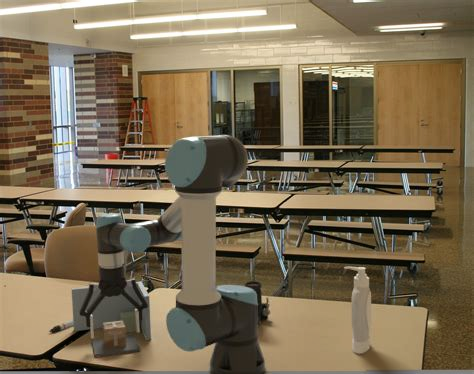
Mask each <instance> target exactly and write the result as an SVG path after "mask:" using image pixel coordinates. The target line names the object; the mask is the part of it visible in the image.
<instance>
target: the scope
mask: <svg viewBox="0 0 474 374" xmlns="http://www.w3.org/2000/svg"><path fill="white" fill-rule="evenodd" d="M244 286H245V287H249V288H251V289H253V290H254V291H255V292H256V294H257V303H258V327H259V326H260V325H261V321H267V320H268V319H269V316H270V314H271V310H270V302H269V301H270V300H269V296H268V297H266V298H265V299H266V302H265V303H264V302H263V301H262V298H263V297H262V289H261V288H262V282H260V281H256V280H255V281H247V282H245V283H244Z"/></svg>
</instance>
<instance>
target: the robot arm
mask: <svg viewBox="0 0 474 374" xmlns="http://www.w3.org/2000/svg"><path fill="white" fill-rule="evenodd" d="M248 163H249V154H248V151H247V149H246V147H245V146H244V144H243V143H242V142H241V140H239V139H237V137H235V136H232V135H229V134H219V135H202V136H189V137H183V138H179V139H178V140H176V141H174V142H173V144H172V145H171V146H169V148H168V150H167V152H166V156H165V160H164V170H165V174H166V176H168V177H167V179H168V182H170V183H171V184H172V185H173V186H174V187H175V189H174V191H175V193H176V194H177V195H178V197H177V198H176V200H175V201H174V202H172V203H171V205H170V206H168V207H167V209H166V210H165V211H164V212H163V213H162V214H161V215H160V216H159V217H158V218H156V219H151V220H147V221H141V222H135V223H123V220H122V219H123V218H122V216H121V214H119V213H103V214H99V215H98V216H97V217H96V221H95V222H96V223H95V224H96V226H95V227H96V228H95V231H96V244H97V246H96V247H97V258H98V259H97V261H98V262H97V264H98V266H100V267H98V276H99V278H98V279H99V281H98V283H93V282H89V283H88V287H89V290H88V293H87V295H86V297H85V299H84V302H83V304H82V306H81V308H80V311H79V313H80V316H85V317H86V325H87V327H90V329H89V330H90V338H91V340H92V339H95V336H94V335H95V332H94V330H95V329H93V316H92V313H93V311H94V310H95V309H96V307H97V306H98V305H99V303H100V302H101V301H102V300H103V299H104V297H105V296H108V297H112V296H119V295H120V294H122V295H123V296H124V297H125V298H126V299H127V300H128V301H129V302H131V303H132V304H133V305H134V306H135V307H136V308H137V309H135V320H136V331H135V332H136V333H141V331H140V330H141V328H140V324H139V321H142V319H143V318H142V310H143V309H145V308H147V307H148V305H147V303H146V301H145V300H144V298H143V296H142V295H141V293H140V291H139V290H138V288H137V286H136V282H137V281H136V279H135V278H134V277H132V278H131V279H128V280H126V274H125V273H126V272H125V266H124V265H122V264H125V255H124V251H128V252H129V253H143V252H144V251H146V250H147V249H148V248H150V247H154V246H159V245H164V244H169V243H174V242H176V241H180V240H181V290H180V291H179V292H177V294H176V295H175V307H172V308H171V309H169V311H168V313H167V315H166V316H165V317H166V319H165V323H166V328H167V332H168V334H169V336H170V339H171V340H172V341H173V343H174V344H175V345H176V347H178V348H179V349H180V350H183V351H184V352H189V353H190V352H195V351H198V350H203V349H205V348H206V347H208V346H211V345H214V347H213V351H212V353H211V357H210V360H209V371H210V372H211V374H263V373H264V372H265V368H266V361H265V360H266V359H265V358H264V354H263V351H262V349H261V346H260V344H259V343H260V342H259V326H258V303H257V294H256V292H255V291H254V290H253V289H251V288H249V287H245V285H239V284H238V285H235V284H221V285H217V286H216V253H217V252H216V248H217V246H216V243H217V241H216V240H217V237H216V235H217V234H216V231H217V230H216V229H217V228H216V226H217V224H216V223H217V222H216V221H217V218H216V217H217V197H218V196H219V195H220V194H222V192H223V190H225V189H229V188H232V187H233V186H234V185H235V184H237V182H238V181H239V180H240V179H241V178H242V176H243V175H245V172H246V170H247V167H248ZM127 284H128V285H129V286H130V287H133V289H134V291H135V293H136V294H137V296H138V298H139V299H140V301H141V303H142V304H141V305H140V304H139V303H138V302H137V301H136V300H135V299H133V298H132V297H131V296H130V295H129V294H128V293H127V292H126V291H125V290H124V288H125V287H126V285H127ZM98 287H99V289H100V290H101V292H100V293H99V295H98V297H97V298H96V299H95V301H94V302H93V303H92V304H91V306H90V307H89V308H88V310H87V311H85V310H86V308H87V306H88V304H89V301H90V299H91V297H92V294H93V291H95V290H96V288H98Z"/></svg>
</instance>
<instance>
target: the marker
mask: <svg viewBox="0 0 474 374" xmlns="http://www.w3.org/2000/svg"><path fill="white" fill-rule="evenodd" d="M70 327H74V324H73V318H72V319H70V320H68V321H64V322H63V323H59V324H58V325H55V326H53V327H52V328H51V329H50V330H49V331H48V332H49V333H55V332H56V333H57V331H58V332H60V331H63V330H65V329H68V328H70Z"/></svg>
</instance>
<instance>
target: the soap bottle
mask: <svg viewBox="0 0 474 374" xmlns="http://www.w3.org/2000/svg"><path fill="white" fill-rule="evenodd" d="M343 269H344V270H345V269H346V270H348V269H349V270H351V271H352V270H353V271H356V272H357V273H356V275H355V276H354V277H353V290H352V292H351V312H350V313H351V314H350V315H351V317H350V318H351V327H352V328H351V329H352V342H351V350H352V352H353V353H355V354H357V355H360V354H365V353H366V352H368V351H369V350H370V348H371V341H370V340H371V337H370V331H371V330H370V329H371V324H372V322H371V321H372V292H371V289H370V277H368V276H367V273H366V267H364V266H359V267H357V266H344V268H343Z"/></svg>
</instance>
